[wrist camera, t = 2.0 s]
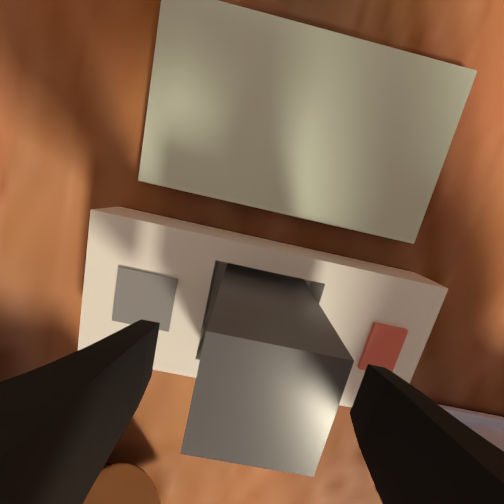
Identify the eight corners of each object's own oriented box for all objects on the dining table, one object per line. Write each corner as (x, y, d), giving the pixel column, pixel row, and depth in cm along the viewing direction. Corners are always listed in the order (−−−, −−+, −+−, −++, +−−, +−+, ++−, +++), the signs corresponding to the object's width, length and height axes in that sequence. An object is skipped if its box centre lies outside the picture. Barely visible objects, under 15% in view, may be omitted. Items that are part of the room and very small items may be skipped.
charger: (302, 277, 14) (354, 360, 7) (283, 344, 15) (313, 477, 8) (228, 261, 14) (206, 330, 7) (213, 330, 14) (180, 453, 8)
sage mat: (466, 76, 12) (477, 70, 12) (407, 241, 14) (414, 243, 13) (167, -5, 11) (163, -15, 11) (142, 181, 13) (138, 180, 13)
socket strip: (414, 272, 14) (451, 290, 12) (373, 381, 16) (398, 419, 13) (119, 206, 13) (87, 209, 11) (105, 328, 15) (74, 357, 12)
